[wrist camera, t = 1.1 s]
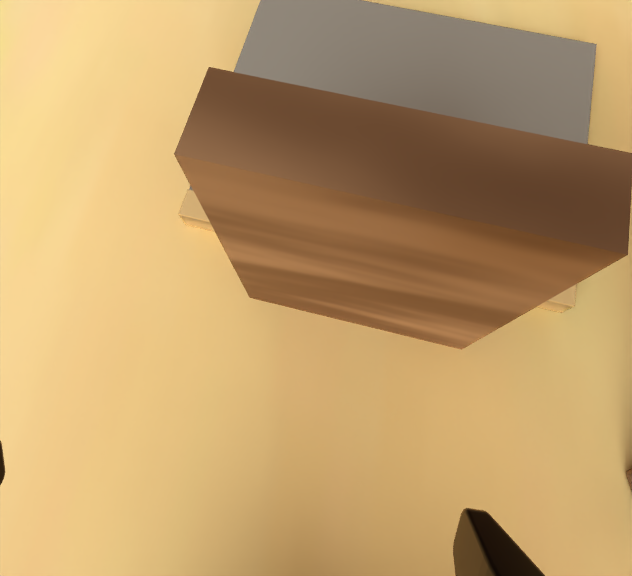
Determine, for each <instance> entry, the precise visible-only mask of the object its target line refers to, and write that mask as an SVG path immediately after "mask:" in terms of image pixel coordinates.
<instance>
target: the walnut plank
mask: <svg viewBox="0 0 632 576" xmlns="http://www.w3.org/2000/svg"><path fill="white" fill-rule="evenodd" d="M174 155H175V157H176V159H177V160H178V162H179V164H180V166H181V168H182V170H183V172H184V174H185V176H186V178H187V179H188V181H189V183H190V185H191V187H192V189H193V191H194V193H195V195H196V196H197V198H198V200H199V202H200V204H201V206H202V208H203V210H204V212H205V214H206V215H207V217H208V219H209V221H210V223H211V225H212V227H213V229H214V231H215V233H216V234H217V236H218V238H219V240H220V242H221V244H222V246H223V248H224V250H225V252H226V253H227V255H228V257H229V259H230V261H231V263H232V265H233V267H234V269H235V270H236V272H237V274H238V276H239V278H240V280H241V282H242V284H243V286H244V288H245V289H246V291H247V293H248V295H249V297H250V298H254V299H258V300H262V301H266V302H270V303H274V304H278V305H282V306H286V307H290V308H295V309H299V310H303V311H307V312H311V313H315V314H319V315H323V316H327V317H331V318H335V319H339V320H344V321H348V322H352V323H356V324H360V325H364V326H368V327H372V328H376V329H380V330H384V331H388V332H393V333H397V334H401V335H405V336H409V337H413V338H417V339H421V340H425V341H429V342H433V343H437V344H442V345H446V346H450V347H454V348H458V349H463V348H465V347H467V346H468V345H470V344H472V343H474V342H475V341H477V340H479V339H481V338H482V337H484V336H486V335H488V334H489V333H491V332H493V331H495V330H496V329H498V328H500V327H502V326H503V325H505V324H507V323H509V322H510V321H512V320H514V319H516V318H517V317H519V316H521V315H523V314H525V313H526V312H528V311H530V310H532V309H533V308H535V307H537V306H539V305H540V304H542V303H544V302H546V301H547V300H549V299H551V298H553V297H554V296H556V295H558V294H560V293H561V292H563V291H565V290H567V289H568V288H570V287H572V286H574V285H575V284H577V283H579V282H581V281H582V280H584V279H586V278H588V277H589V276H591V275H593V274H595V273H596V272H598V271H600V270H602V269H603V268H605V267H607V266H609V265H611V264H612V263H614V262H616V261H618V260H619V259H621V258H623V257H625V256H626V255H628V241H629V223H630V205H631V187H632V153H628V152H623V151H618V150H613V149H608V148H603V147H598V146H593V145H589V144H584V143H579V142H574V141H569V140H564V139H559V138H554V137H549V136H544V135H540V134H535V133H530V132H525V131H520V130H515V129H510V128H505V127H500V126H495V125H491V124H486V123H481V122H476V121H471V120H466V119H461V118H456V117H451V116H446V115H442V114H437V113H432V112H427V111H422V110H417V109H412V108H407V107H402V106H397V105H393V104H388V103H383V102H378V101H373V100H368V99H363V98H358V97H353V96H348V95H344V94H339V93H334V92H329V91H324V90H319V89H314V88H309V87H304V86H299V85H295V84H290V83H285V82H280V81H275V80H270V79H265V78H260V77H255V76H250V75H246V74H241V73H236V72H231V71H226V70H221V69H216V68H211V67H209V68H208V71H207V73H206V76H205V78H204V81H203V83H202V86H201V88H200V91H199V93H198V96H197V98H196V101H195V103H194V106H193V108H192V111H191V113H190V116H189V118H188V121H187V123H186V126H185V128H184V131H183V133H182V136H181V138H180V141H179V143H178V146H177V148H176V151H175V153H174Z"/></svg>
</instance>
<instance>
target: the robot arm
mask: <svg viewBox="0 0 632 576" xmlns="http://www.w3.org/2000/svg"><path fill="white" fill-rule="evenodd" d="M4 475H5V465H4V458H3V450H2V443H1V441H0V485H1V483H2V481H3V479H4ZM453 556H454V565H455V574H456V576H545V575H544V574H543V573H542V572H541V570H540V569H539V568H538V567H537V566H536V565H535V564H534V563H533V562H532V561H531V559H530V558H529V557H528V556H527V555H526V554H525V553H524V552H523V551H522V550H521V548H520V547H519V546H518V545H517V544H516V543H515V542H514V541H513V540H512V539H511V537H510V536H509V535H508V534H507V533H506V532H505V531H504V530H503V529H502V527H501V526H500V525H499V524H498V523H497V522H496V521H495V520H494V519H493V518H492V516H491V515H490V514H489V513H487V512H486V511H483V510H476V509H470V508H466V509H464V510H463V511H462V513H461V517H460V520H459V524H458V528H457V532H456V536H455V539H454V545H453Z"/></svg>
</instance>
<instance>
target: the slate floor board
mask: <svg viewBox="0 0 632 576" xmlns="http://www.w3.org/2000/svg"><path fill="white" fill-rule="evenodd" d="M595 55H596V44H593V43H588V42H582V41H577V40H571V39H566V38H561V37H555V36H550V35H545V34H539V33H534V32H528V31H523V30H518V29H512V28H507V27H502V26H496V25H491V24H486V23H480V22H475V21H469V20H464V19H459V18H453V17H448V16H443V15H437V14H432V13H426V12H421V11H416V10H410V9H405V8H400V7H394V6H389V5H383V4H378V3H373V2H367V1H362V0H261V1H260V3H259V6H258V9H257V11H256V14H255V17H254V19H253V22H252V25H251V27H250V30H249V33H248V35H247V38H246V41H245V43H244V46H243V49H242V51H241V54H240V56H239V59H238V62H237V64H236V67H235V70H234V72H236V73H241V74H246V75H250V76H255V77H260V78H265V79H270V80H275V81H280V82H285V83H290V84H295V85H299V86H304V87H309V88H314V89H319V90H324V91H329V92H334V93H339V94H344V95H348V96H353V97H358V98H363V99H368V100H373V101H378V102H383V103H388V104H393V105H397V106H402V107H407V108H412V109H417V110H422V111H427V112H432V113H437V114H442V115H446V116H451V117H456V118H461V119H466V120H471V121H476V122H481V123H486V124H491V125H495V126H500V127H505V128H510V129H515V130H520V131H525V132H530V133H535V134H540V135H544V136H549V137H554V138H559V139H564V140H569V141H574V142H579V143H584V144H587V143H588V132H589V121H590V110H591V99H592V88H593V77H594V66H595ZM179 216H180V217H181V219H182V220H183V222H184V223H185V225H189V226H193V227H198V228H202V229H206V230H210V231H214V229H213V227H212V225H211V223H210V221H209V219H208V217H207V215H206V214H205V212H204V210H203V208H202V206H201V204H200V202H199V200H198V198H197V196H196V195H195V193H194V191H193V189H192V187H191V186H190V189H189V190H187V193H186V195H185V198H184V201H183V203H182V206H181V209H180V211H179ZM576 286H577V284H575V285H574V286H572V287H570V288H568V289H567V290H565V291H563V292H561V293H560V294H558V295H556V296H554V297H553V298H551V299H549V300H547V301H546V302H544V303H542V304H540V305H539V306H537V307H539V308H543V309H548V310H552V311H556V312H560V313H562V312H564V311H566V310H568V309H570V308H572V307H574V306H575V297H576Z"/></svg>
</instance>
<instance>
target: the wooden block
mask: <svg viewBox="0 0 632 576" xmlns="http://www.w3.org/2000/svg"><path fill="white" fill-rule="evenodd" d="M626 476H627V479H628V482H629V484H630V487H631V490H632V469H630V470H629V471H627V472H626Z"/></svg>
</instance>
